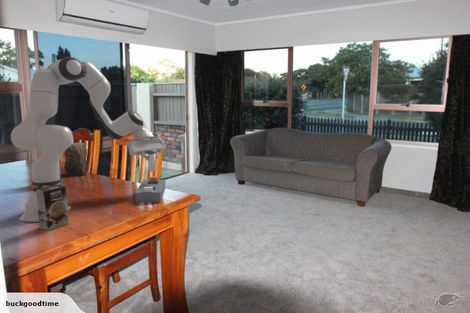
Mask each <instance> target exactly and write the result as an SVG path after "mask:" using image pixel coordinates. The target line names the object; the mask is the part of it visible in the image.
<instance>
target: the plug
mask: <svg viewBox="0 0 470 313" xmlns="http://www.w3.org/2000/svg"><path fill="white" fill-rule="evenodd" d="M147 156H149V160H147V168H148V172H150V173H152V172H156V171H157V163H156V162H157V159H156V154H155V150H149V151H148V154H147Z"/></svg>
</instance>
